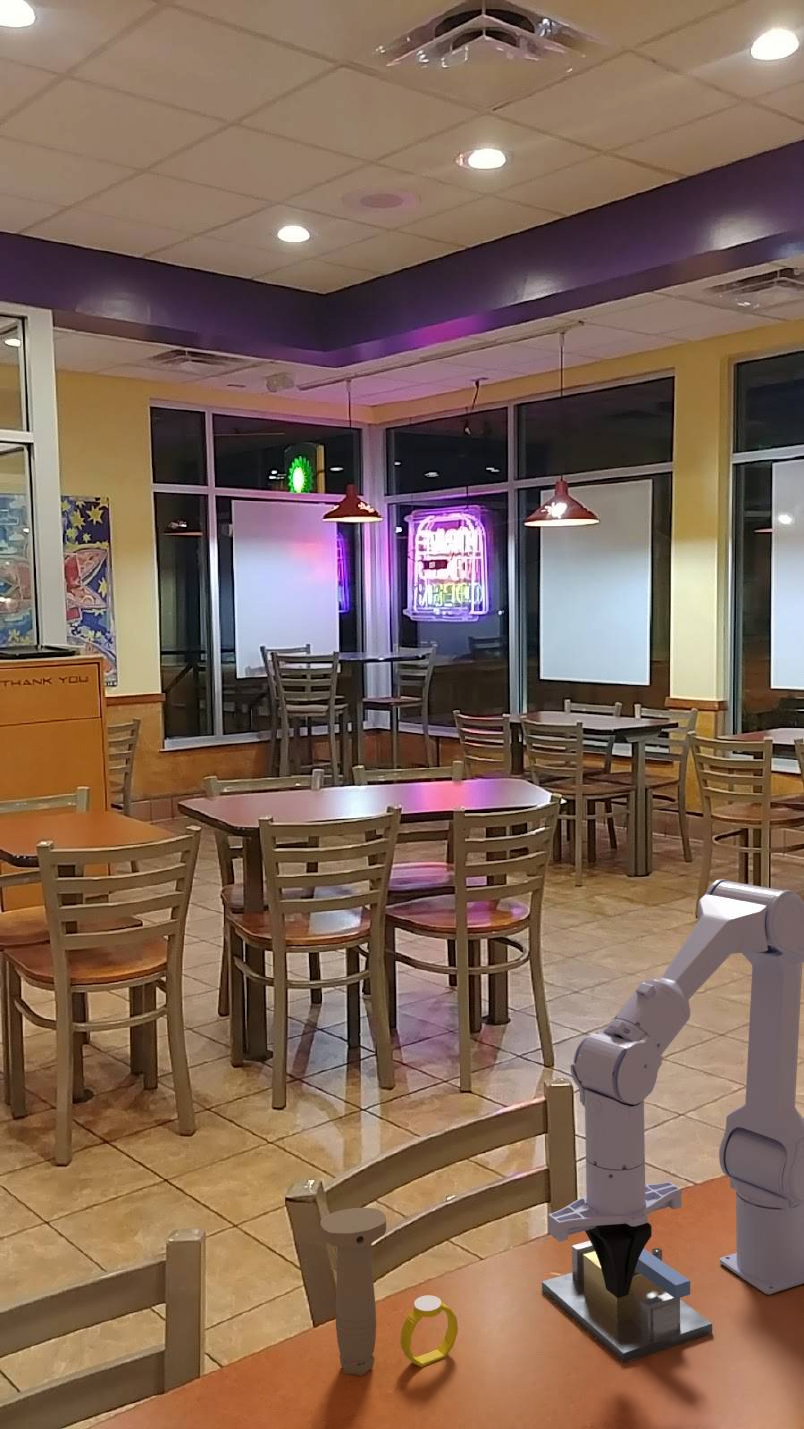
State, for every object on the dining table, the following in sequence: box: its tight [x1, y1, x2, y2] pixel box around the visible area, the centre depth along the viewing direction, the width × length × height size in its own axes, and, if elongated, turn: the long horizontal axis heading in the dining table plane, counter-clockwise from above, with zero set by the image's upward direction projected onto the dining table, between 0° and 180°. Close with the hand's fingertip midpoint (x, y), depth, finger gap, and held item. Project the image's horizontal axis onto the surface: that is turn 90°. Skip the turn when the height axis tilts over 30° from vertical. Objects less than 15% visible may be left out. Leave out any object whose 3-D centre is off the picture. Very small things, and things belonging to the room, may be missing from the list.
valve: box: [541, 1240, 713, 1364], centre depth 128 cm, size 11×15×7 cm
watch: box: [400, 1294, 459, 1368], centre depth 121 cm, size 6×3×6 cm, turn 122°
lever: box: [635, 1248, 691, 1299], centre depth 124 cm, size 11×3×2 cm, turn 27°
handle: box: [319, 1207, 387, 1377], centre depth 119 cm, size 5×6×15 cm
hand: (617, 1291), depth 120 cm, fingers closed
